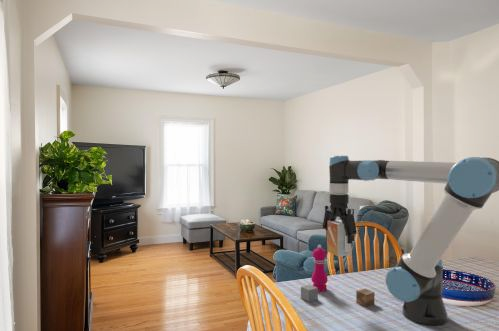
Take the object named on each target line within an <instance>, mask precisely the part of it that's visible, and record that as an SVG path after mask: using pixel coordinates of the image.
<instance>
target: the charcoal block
mask: <svg viewBox="0 0 499 331" xmlns="http://www.w3.org/2000/svg"><path fill="white" fill-rule="evenodd" d="M300 299H302V300H304V301H306V302H307V303H310V302H315V301H317V300H318V299H319V291H318V288H317V287H315V286H313V284H307V285H302V286H300Z"/></svg>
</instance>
